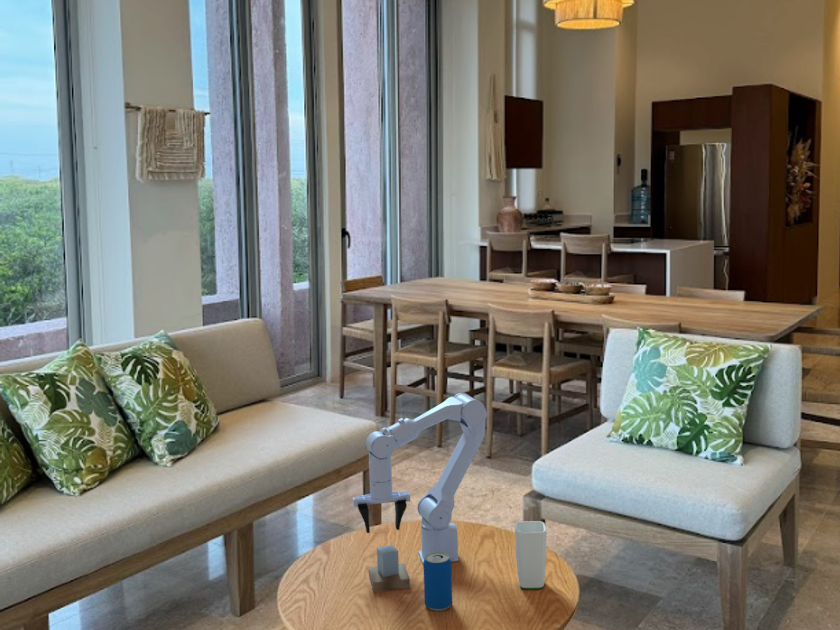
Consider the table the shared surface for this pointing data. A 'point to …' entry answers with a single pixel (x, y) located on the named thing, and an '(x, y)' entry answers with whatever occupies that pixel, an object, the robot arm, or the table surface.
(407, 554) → the table surface
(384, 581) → the taupe plinth
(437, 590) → the beverage can
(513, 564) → the table surface
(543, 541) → the cup
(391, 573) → the slate-blue block
